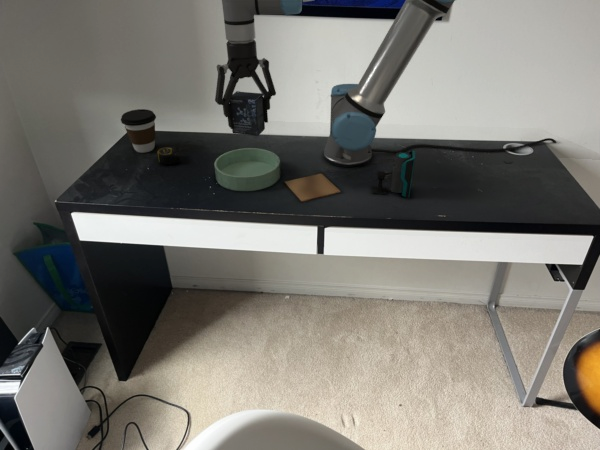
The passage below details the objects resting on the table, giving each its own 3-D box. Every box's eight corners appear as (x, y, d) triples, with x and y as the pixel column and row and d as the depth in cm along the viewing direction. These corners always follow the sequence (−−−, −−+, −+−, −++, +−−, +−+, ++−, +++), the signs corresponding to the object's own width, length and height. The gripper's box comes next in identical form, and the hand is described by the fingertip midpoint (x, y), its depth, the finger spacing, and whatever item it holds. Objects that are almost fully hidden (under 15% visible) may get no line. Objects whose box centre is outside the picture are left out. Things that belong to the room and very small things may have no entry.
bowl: (266, 156, 153) (265, 143, 150) (290, 182, 138) (290, 168, 136) (208, 168, 146) (206, 155, 144) (227, 197, 132) (225, 182, 129)
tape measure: (180, 164, 149) (179, 153, 146) (158, 167, 147) (156, 156, 145) (178, 155, 154) (176, 145, 152) (157, 158, 152) (154, 148, 150)
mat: (321, 174, 142) (321, 173, 142) (340, 192, 133) (340, 191, 133) (284, 182, 138) (284, 181, 138) (301, 201, 129) (301, 200, 129)
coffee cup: (136, 141, 164) (128, 107, 157) (166, 142, 162) (160, 109, 156) (122, 155, 155) (113, 120, 148) (154, 156, 153) (146, 121, 147)
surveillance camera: (377, 147, 129) (414, 149, 128) (373, 185, 136) (409, 188, 135) (376, 156, 125) (415, 158, 123) (372, 195, 131) (409, 198, 130)
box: (232, 134, 133) (228, 97, 127) (240, 126, 137) (236, 90, 131) (258, 136, 131) (255, 99, 125) (265, 129, 135) (263, 92, 129)
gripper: (275, 32, 127) (279, 113, 139) (194, 42, 119) (206, 126, 132) (286, 38, 121) (289, 121, 134) (202, 48, 114) (214, 136, 126)
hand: (248, 124), depth 133 cm, fingers closed on box, 9 cm apart
